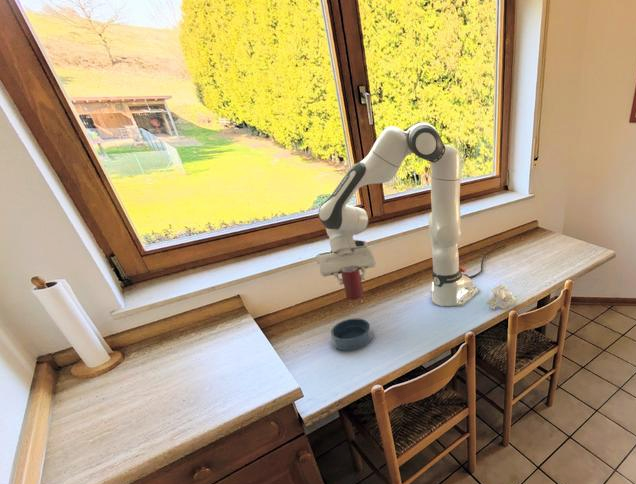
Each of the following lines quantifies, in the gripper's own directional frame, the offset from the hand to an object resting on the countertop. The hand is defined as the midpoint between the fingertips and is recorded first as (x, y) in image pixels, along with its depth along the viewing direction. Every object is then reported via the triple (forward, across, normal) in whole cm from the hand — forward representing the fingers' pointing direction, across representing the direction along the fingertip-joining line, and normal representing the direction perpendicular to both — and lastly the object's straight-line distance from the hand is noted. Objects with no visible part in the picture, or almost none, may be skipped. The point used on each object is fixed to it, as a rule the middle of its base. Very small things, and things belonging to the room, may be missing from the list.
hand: (352, 281), depth 135 cm
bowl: (+21, -5, +5) cm, 22 cm away
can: (+4, 0, +5) cm, 6 cm away
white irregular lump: (+23, +58, +4) cm, 63 cm away
